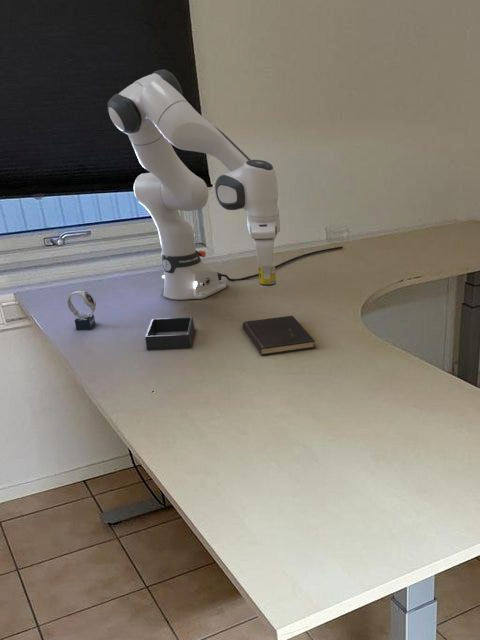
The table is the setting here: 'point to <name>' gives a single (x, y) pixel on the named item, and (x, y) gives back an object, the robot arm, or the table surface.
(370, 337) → the table surface
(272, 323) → the hardcover book
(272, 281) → the supplement bottle
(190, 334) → the tray
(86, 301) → the watch
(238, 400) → the table surface
